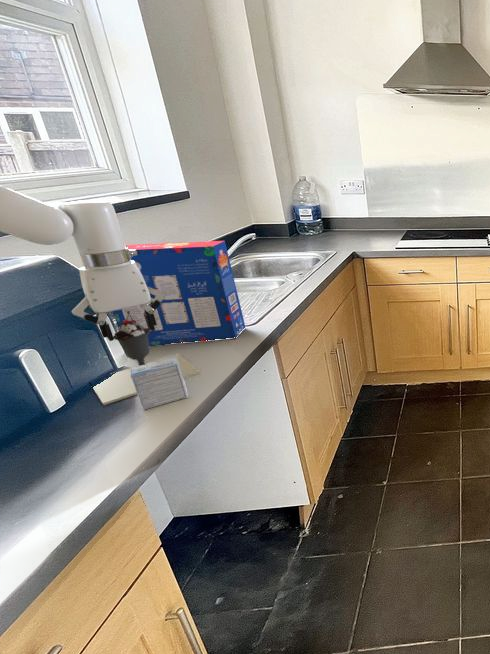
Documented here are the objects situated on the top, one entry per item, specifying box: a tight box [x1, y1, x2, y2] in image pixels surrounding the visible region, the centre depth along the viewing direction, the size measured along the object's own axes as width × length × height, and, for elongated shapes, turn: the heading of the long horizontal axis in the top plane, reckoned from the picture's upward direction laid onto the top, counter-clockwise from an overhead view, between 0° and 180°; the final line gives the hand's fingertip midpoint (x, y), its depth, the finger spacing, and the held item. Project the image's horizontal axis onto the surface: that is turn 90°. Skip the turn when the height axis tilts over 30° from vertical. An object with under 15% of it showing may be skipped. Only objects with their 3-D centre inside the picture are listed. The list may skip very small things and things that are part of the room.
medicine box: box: [131, 358, 189, 411], centre depth 91 cm, size 8×4×9 cm, turn 130°
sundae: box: [113, 311, 150, 366], centre depth 97 cm, size 7×7×15 cm
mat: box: [92, 353, 201, 406], centre depth 101 cm, size 18×16×1 cm
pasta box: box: [112, 240, 246, 347], centre depth 119 cm, size 28×8×28 cm, turn 103°
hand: (131, 333), depth 96 cm, fingers closed on sundae, 6 cm apart
